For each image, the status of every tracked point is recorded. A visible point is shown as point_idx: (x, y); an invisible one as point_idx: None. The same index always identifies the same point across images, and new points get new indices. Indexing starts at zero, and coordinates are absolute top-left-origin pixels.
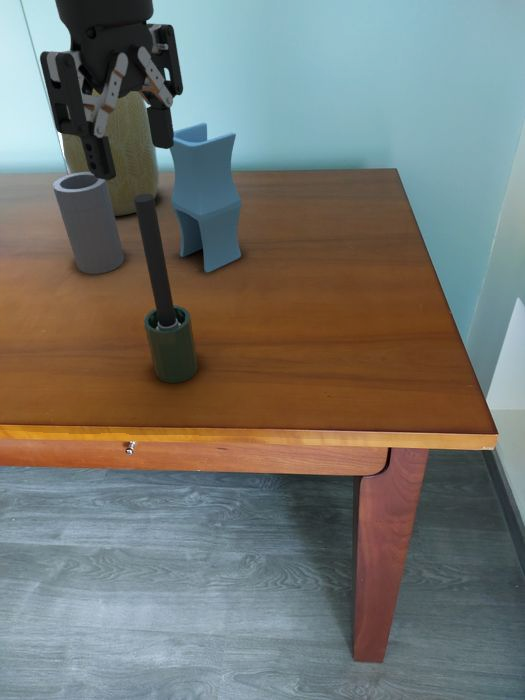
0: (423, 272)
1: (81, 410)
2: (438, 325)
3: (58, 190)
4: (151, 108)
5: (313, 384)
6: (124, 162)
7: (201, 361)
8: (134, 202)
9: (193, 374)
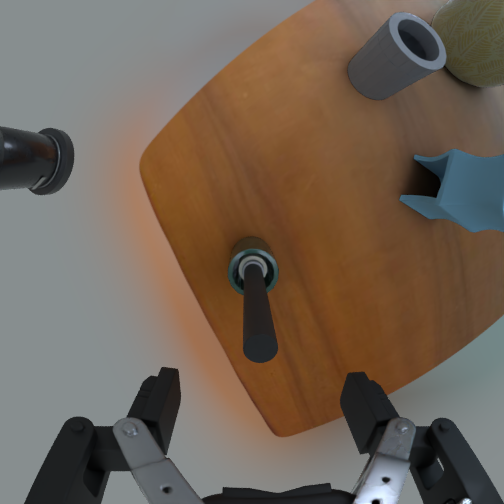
0: (427, 368)
1: (170, 210)
2: None
3: (389, 25)
4: (373, 430)
5: (279, 361)
6: (483, 60)
7: None
8: (246, 338)
9: None
